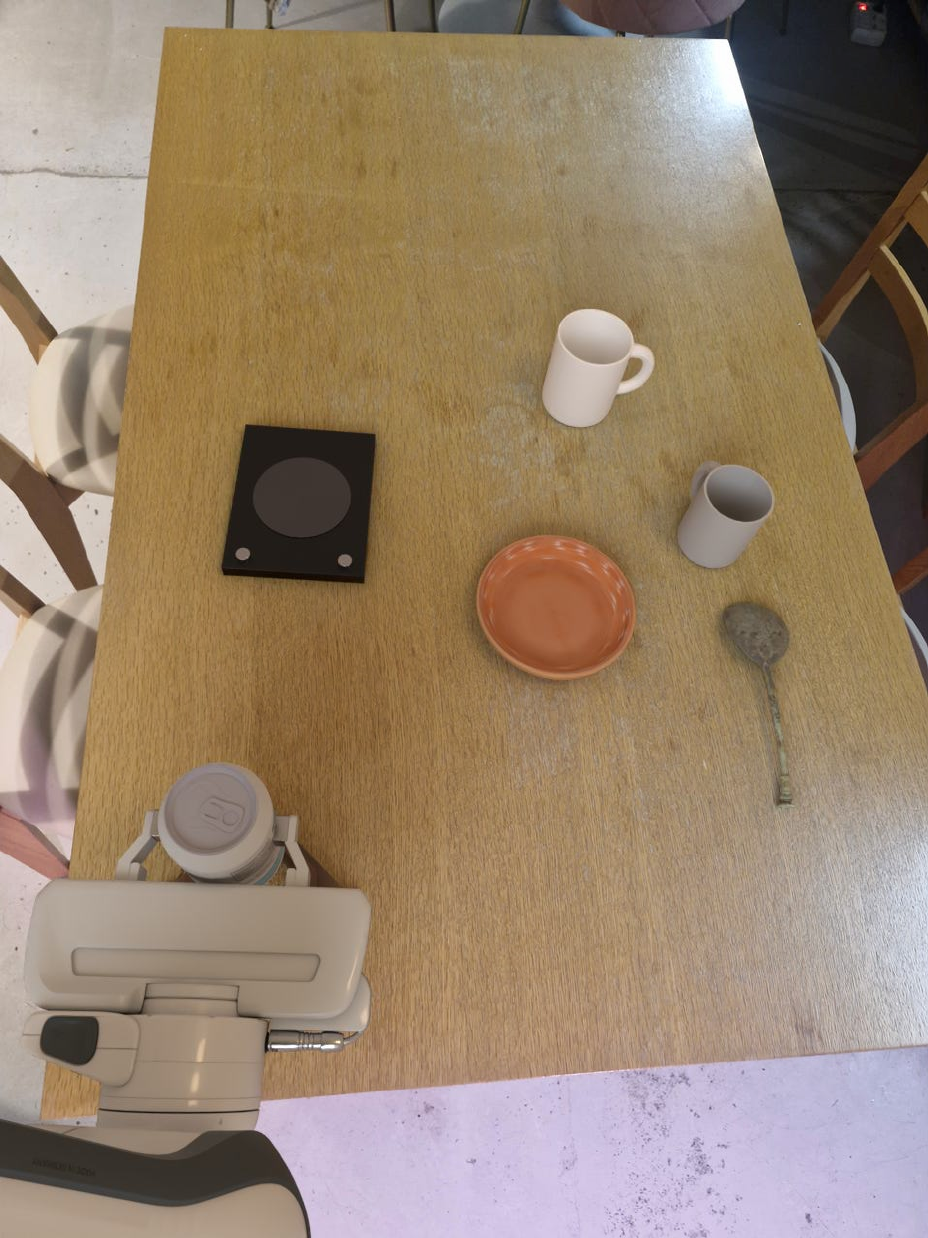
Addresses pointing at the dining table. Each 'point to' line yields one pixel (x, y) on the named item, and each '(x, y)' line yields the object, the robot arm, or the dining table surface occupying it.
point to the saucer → (555, 607)
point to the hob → (301, 505)
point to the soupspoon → (763, 663)
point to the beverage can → (220, 826)
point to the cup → (723, 513)
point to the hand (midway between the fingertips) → (224, 814)
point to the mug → (591, 367)
